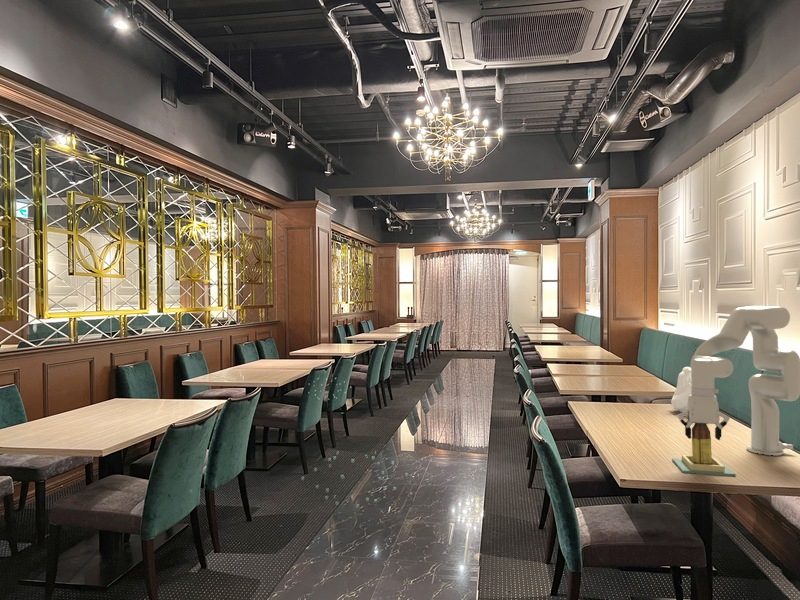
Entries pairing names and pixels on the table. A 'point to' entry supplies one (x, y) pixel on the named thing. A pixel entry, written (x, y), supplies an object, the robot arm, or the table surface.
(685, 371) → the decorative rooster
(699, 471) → the teal board with frame
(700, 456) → the sauce bottle
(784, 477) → the table surface
